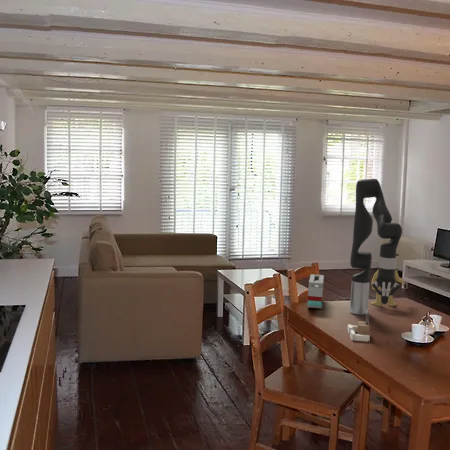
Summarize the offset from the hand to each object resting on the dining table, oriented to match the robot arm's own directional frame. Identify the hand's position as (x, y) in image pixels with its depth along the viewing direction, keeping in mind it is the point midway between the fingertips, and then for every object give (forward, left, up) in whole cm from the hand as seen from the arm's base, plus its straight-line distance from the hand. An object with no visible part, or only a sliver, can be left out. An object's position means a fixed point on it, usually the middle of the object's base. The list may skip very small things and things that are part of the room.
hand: (384, 303), depth 247 cm
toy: (-63, +15, -16) cm, 67 cm away
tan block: (0, -9, -16) cm, 18 cm away
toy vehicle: (-56, -27, -16) cm, 64 cm away
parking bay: (0, -11, -16) cm, 19 cm away
